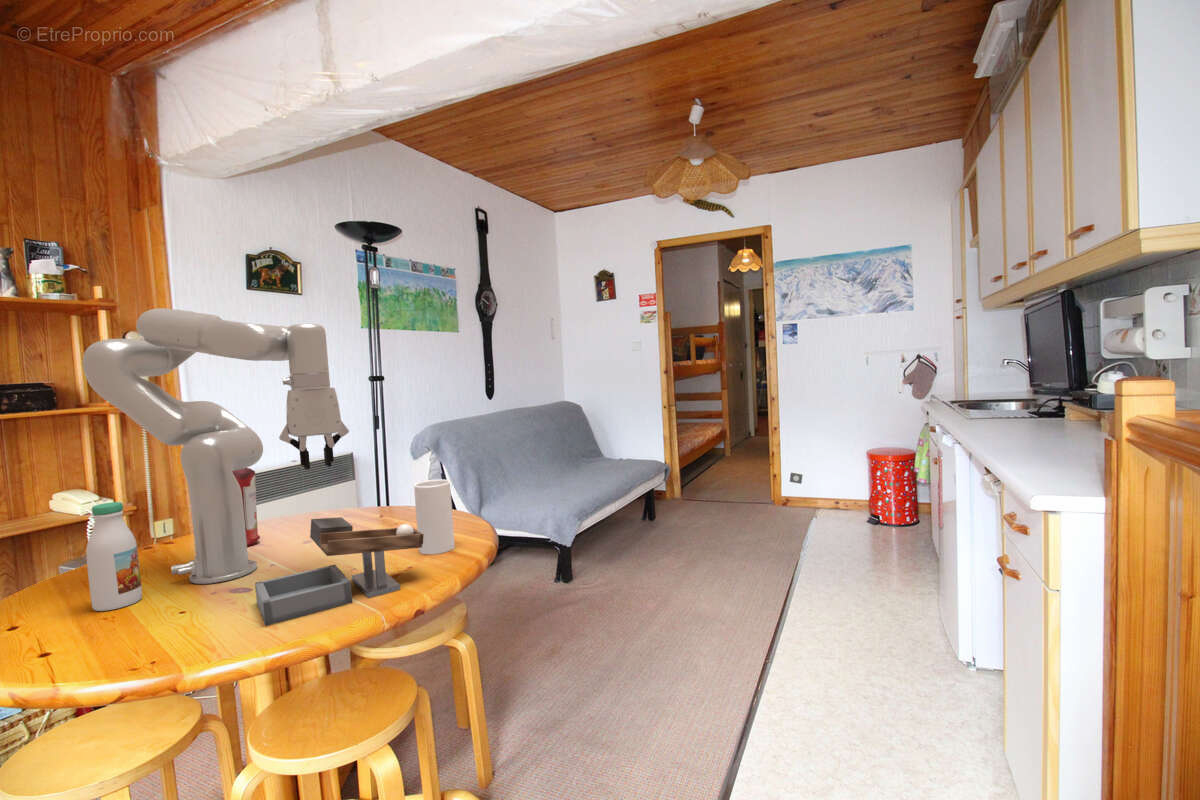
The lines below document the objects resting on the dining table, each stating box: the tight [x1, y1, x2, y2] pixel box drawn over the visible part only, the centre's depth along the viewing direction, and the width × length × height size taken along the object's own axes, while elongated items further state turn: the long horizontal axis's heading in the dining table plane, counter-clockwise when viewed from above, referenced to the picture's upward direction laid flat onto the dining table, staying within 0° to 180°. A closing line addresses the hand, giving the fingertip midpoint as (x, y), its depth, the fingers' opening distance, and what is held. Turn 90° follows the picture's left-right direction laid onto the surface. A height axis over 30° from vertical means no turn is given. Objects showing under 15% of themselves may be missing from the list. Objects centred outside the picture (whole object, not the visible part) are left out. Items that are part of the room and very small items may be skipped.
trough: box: [309, 516, 424, 557], centre depth 121 cm, size 18×18×4 cm
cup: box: [413, 479, 456, 555], centre depth 139 cm, size 8×8×16 cm
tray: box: [254, 564, 353, 627], centre depth 110 cm, size 14×13×4 cm
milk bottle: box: [85, 501, 143, 612], centre depth 115 cm, size 8×8×20 cm
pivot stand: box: [351, 550, 401, 599], centre depth 118 cm, size 6×13×8 cm, turn 36°
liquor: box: [233, 467, 261, 547], centre depth 152 cm, size 7×7×28 cm
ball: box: [396, 523, 414, 535], centre depth 121 cm, size 4×4×4 cm
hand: (317, 466), depth 126 cm, fingers open, 3 cm apart
